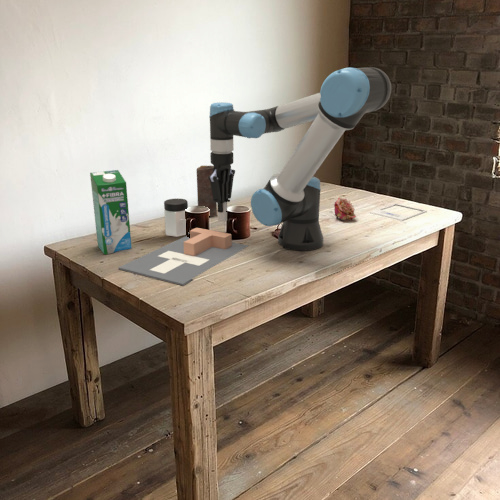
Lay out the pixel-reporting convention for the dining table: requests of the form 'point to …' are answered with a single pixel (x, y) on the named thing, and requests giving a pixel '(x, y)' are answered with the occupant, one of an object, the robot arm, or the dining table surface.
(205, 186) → the candle
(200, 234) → the t block
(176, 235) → the jar
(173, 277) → the mat
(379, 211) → the photo frame
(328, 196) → the dining table surface
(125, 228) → the milk carton
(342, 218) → the flower
